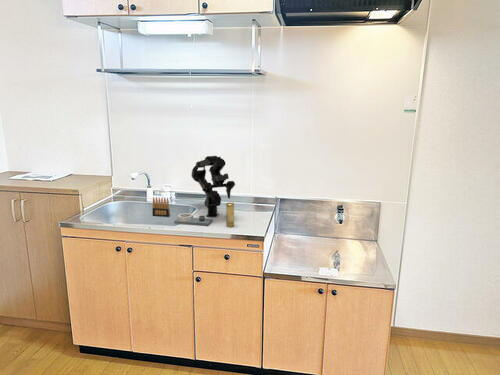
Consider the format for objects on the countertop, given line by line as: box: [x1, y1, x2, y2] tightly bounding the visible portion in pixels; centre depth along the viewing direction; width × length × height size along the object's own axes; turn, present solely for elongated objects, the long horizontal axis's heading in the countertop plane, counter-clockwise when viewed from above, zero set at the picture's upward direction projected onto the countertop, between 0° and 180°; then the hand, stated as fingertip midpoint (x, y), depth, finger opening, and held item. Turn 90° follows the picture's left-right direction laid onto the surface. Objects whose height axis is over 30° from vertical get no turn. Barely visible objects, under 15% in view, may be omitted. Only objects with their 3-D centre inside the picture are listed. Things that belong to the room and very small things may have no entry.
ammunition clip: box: [152, 196, 171, 218], centre depth 225 cm, size 11×2×12 cm, turn 80°
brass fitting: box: [225, 202, 235, 228], centre depth 209 cm, size 4×4×13 cm
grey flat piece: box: [173, 212, 213, 227], centre depth 215 cm, size 9×20×4 cm, turn 80°
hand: (221, 199), depth 213 cm, fingers open, 9 cm apart
